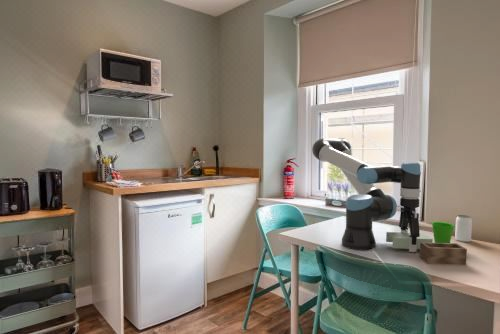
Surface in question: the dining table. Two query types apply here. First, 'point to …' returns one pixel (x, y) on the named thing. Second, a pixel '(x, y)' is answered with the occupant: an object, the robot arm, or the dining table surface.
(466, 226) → the can
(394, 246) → the lid
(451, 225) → the cup
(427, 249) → the box
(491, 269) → the dining table surface
